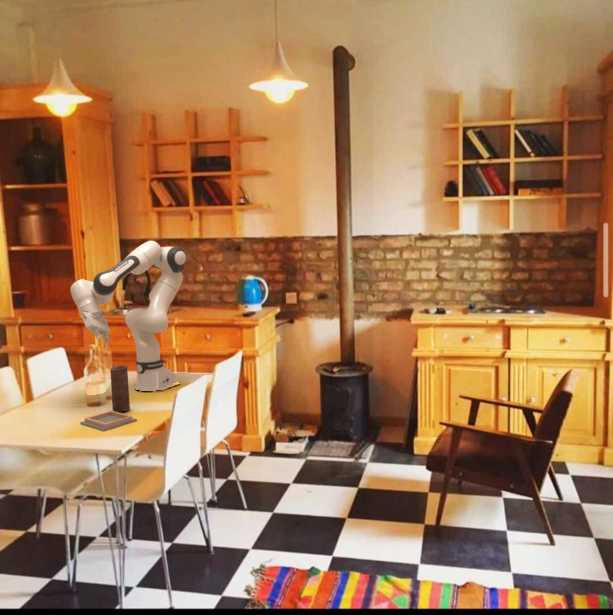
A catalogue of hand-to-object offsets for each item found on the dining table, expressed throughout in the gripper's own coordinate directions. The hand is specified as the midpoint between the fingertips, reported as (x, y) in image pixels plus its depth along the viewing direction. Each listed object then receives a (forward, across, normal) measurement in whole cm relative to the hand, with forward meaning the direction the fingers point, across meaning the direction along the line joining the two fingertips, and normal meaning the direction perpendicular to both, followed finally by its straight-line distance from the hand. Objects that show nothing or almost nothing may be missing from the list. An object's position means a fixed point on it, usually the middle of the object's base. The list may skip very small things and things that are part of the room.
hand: (103, 340), depth 304 cm
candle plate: (+36, -14, +8) cm, 40 cm away
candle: (+32, +1, +6) cm, 32 cm away
